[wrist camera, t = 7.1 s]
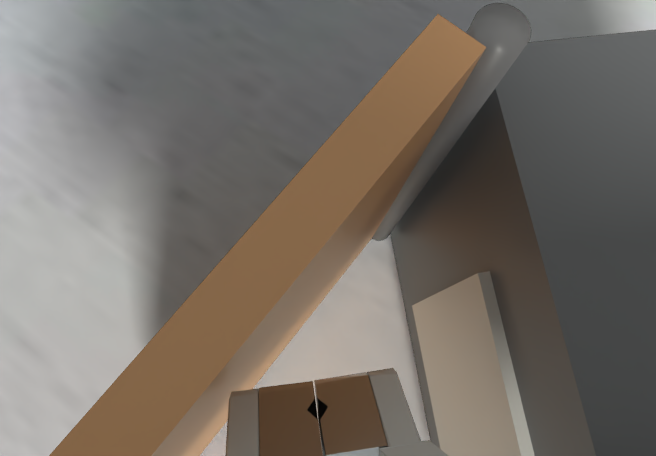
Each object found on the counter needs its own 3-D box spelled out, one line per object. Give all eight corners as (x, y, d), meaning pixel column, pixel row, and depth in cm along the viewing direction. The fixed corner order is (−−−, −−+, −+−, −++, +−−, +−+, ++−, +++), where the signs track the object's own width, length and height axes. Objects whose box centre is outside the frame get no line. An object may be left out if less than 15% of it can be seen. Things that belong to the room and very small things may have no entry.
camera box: (458, 622, 18) (748, 1092, 6) (373, 180, 22) (454, -14, 11) (757, 556, 19) (1455, 852, 8) (620, 149, 24) (929, -55, 12)
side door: (127, 467, 18) (-277, 716, 5) (352, 195, 21) (433, -48, 9) (173, 510, 17) (-134, 879, 5) (394, 227, 21) (541, 25, 8)
